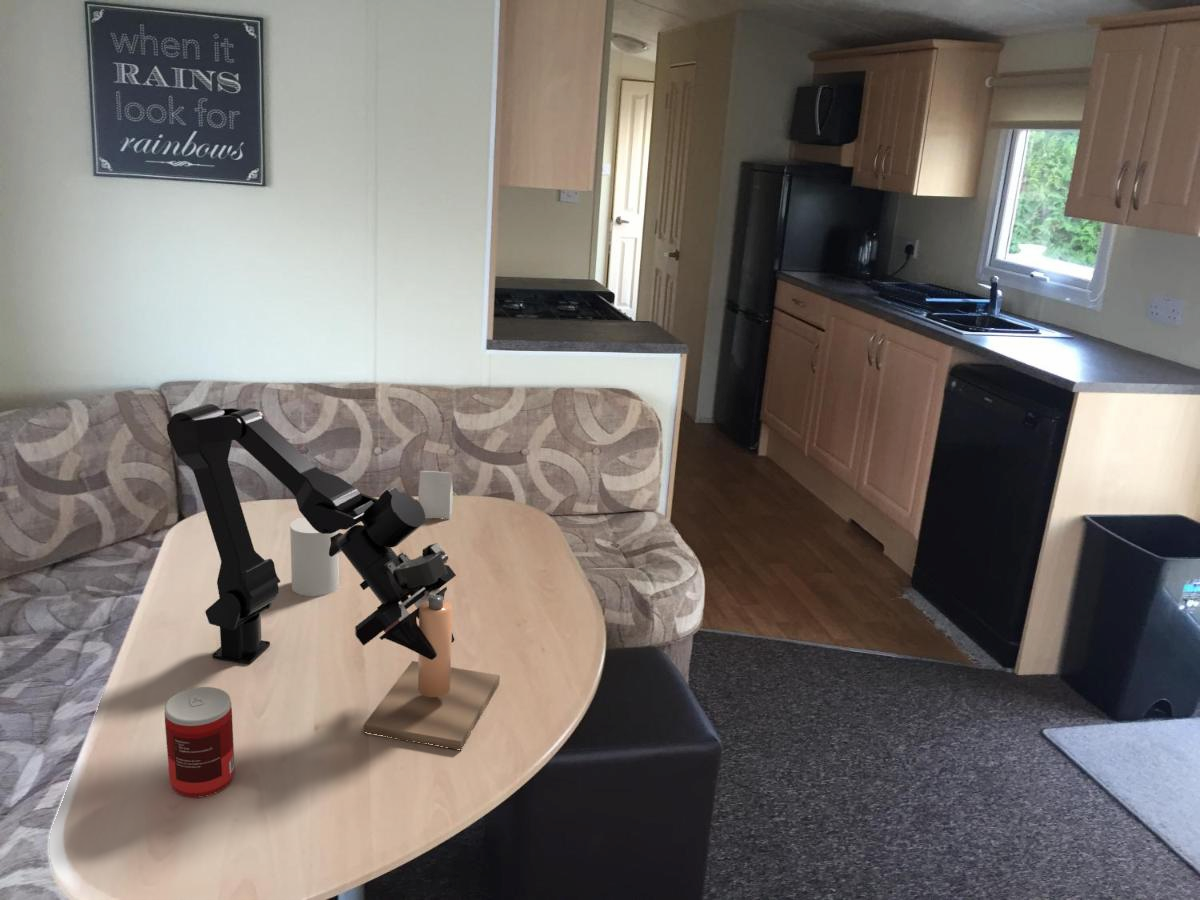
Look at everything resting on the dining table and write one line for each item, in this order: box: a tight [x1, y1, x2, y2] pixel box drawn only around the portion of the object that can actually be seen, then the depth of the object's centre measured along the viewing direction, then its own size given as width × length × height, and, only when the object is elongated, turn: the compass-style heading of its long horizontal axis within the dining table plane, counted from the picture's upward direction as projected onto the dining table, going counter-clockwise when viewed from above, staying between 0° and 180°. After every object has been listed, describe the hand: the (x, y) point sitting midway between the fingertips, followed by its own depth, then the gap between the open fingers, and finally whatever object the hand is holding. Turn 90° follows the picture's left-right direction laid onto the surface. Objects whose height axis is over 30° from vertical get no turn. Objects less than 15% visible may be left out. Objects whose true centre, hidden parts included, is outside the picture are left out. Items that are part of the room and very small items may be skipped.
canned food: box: [164, 686, 235, 798], centre depth 124 cm, size 8×8×11 cm
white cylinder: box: [289, 516, 340, 597], centre depth 177 cm, size 8×8×12 cm
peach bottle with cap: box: [417, 595, 453, 697], centre depth 141 cm, size 5×5×14 cm
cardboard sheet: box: [363, 660, 501, 751], centre depth 144 cm, size 18×14×2 cm
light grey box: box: [417, 470, 454, 520], centre depth 214 cm, size 4×7×10 cm, turn 90°
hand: (443, 650), depth 141 cm, fingers closed on peach bottle with cap, 5 cm apart
